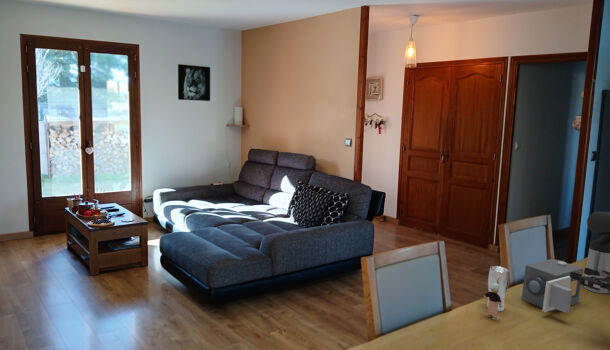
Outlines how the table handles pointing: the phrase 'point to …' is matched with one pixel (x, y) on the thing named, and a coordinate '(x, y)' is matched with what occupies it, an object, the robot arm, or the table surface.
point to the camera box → (546, 272)
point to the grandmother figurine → (493, 301)
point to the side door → (558, 295)
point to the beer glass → (499, 282)
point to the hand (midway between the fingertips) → (577, 272)
